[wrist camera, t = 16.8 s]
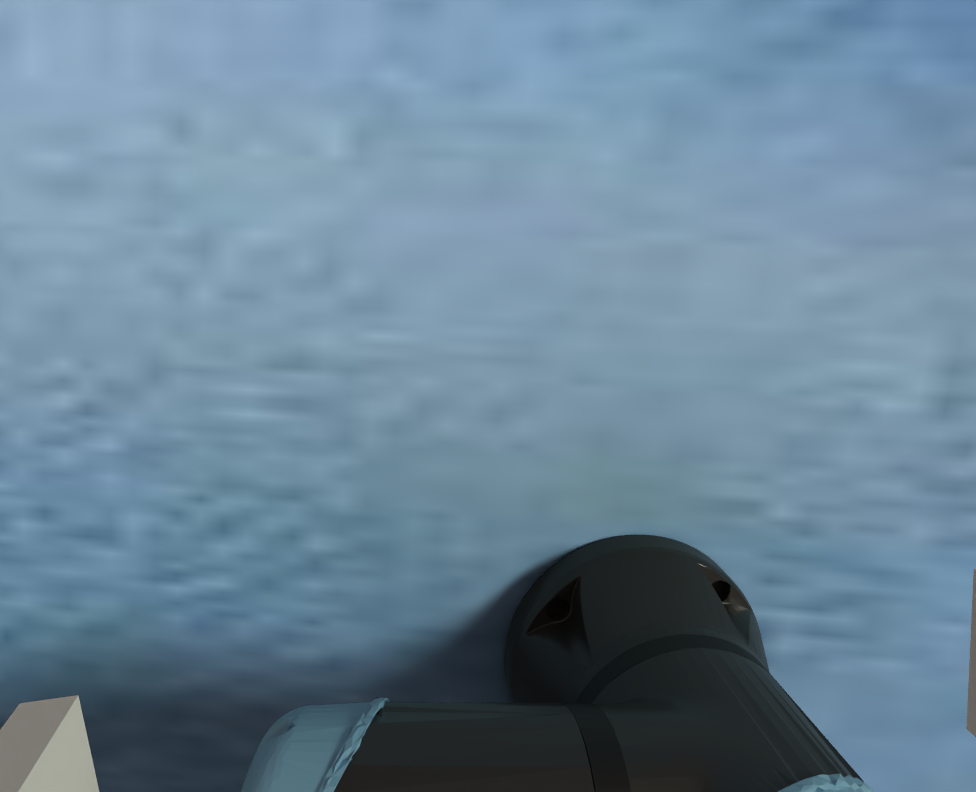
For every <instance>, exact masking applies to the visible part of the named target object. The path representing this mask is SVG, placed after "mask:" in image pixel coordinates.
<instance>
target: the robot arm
mask: <svg viewBox="0 0 976 792" xmlns="http://www.w3.org/2000/svg"><path fill="white" fill-rule="evenodd" d="M504 667H505V676H506V682H507V686H508V690H509V693H510V697H511V701H512V703H419V702H389V699H388V698H383V697H381V698H375V699H374V700H373V701H371V702H362V703H345V704H328V705H308V706H303V707H299V708H296V709H294V710H291V711H289V712H288V713H286V714H285V715H283V716H282V717H281V718H279V719H278V720H277V721H276V722H275V723H274V724H273V725H272V726H271V727H270V729H269V730H268V731H267V733H266V734H265V735H264V737H263V739H262V741H261V743H260V744H259V746H258V748H257V750H256V753H255V755H254V757H253V759H252V762H251V764H250V767H249V769H248V772H247V775H246V777H245V780H244V783H243V786H242V789H241V792H874V791H873V790H872V789H871V788H870V787H869V786H868V785H867V784H866V783H865V782H864V781H863V780H862V779H861V778H860V777H859V776H858V774H857V773H856V772H855V771H854V770H853V769H852V767H851V766H850V765H849V764H848V763H847V762H846V761H845V759H844V758H843V757H842V756H841V755H840V754H839V753H838V751H837V750H836V749H835V748H834V747H833V746H832V744H831V743H830V742H829V741H828V740H827V739H826V738H825V736H824V735H823V734H822V733H821V732H820V731H819V730H818V728H817V727H816V726H815V725H814V724H813V723H812V721H811V720H810V719H809V718H808V717H807V716H806V715H805V713H804V712H803V711H802V710H801V709H800V708H799V706H798V705H797V704H796V703H795V702H794V701H793V700H792V698H791V697H790V696H789V695H788V694H787V693H786V692H785V690H784V689H783V688H782V687H781V686H780V685H779V683H778V682H777V681H776V680H775V679H774V678H773V676H772V675H771V674H770V673H769V668H768V664H767V660H766V655H765V651H764V647H763V642H762V638H761V634H760V630H759V626H758V623H757V620H756V617H755V615H754V613H753V610H752V608H751V606H750V604H749V603H748V601H747V599H746V597H745V596H744V594H743V593H742V592H741V590H740V589H739V588H738V586H737V585H736V584H735V583H734V582H733V581H732V580H731V578H730V577H729V576H728V575H727V574H726V573H725V572H724V571H723V570H722V569H721V568H720V567H719V566H718V565H717V564H716V563H715V562H714V561H713V560H712V559H710V558H709V557H708V556H706V555H705V554H704V553H702V552H700V551H699V550H697V549H695V548H693V547H691V546H689V545H687V544H684V543H682V542H679V541H676V540H673V539H669V538H665V537H659V536H652V535H626V536H618V537H613V538H608V539H604V540H601V541H597V542H595V543H592V544H589V545H587V546H585V547H582V548H580V549H578V550H576V551H574V552H572V553H571V554H569V555H567V556H566V557H564V558H563V559H561V560H560V561H558V562H557V563H556V564H554V565H553V566H552V567H551V568H549V569H548V570H547V571H546V572H545V573H544V574H543V575H542V576H541V577H540V578H539V579H538V580H537V581H536V582H535V583H534V584H533V586H532V587H531V588H530V589H529V591H528V592H527V594H526V595H525V597H524V598H523V600H522V601H521V603H520V605H519V606H518V608H517V610H516V613H515V615H514V617H513V619H512V622H511V625H510V628H509V631H508V635H507V640H506V646H505V656H504ZM967 730H968V731H969V732H971V733H972V734H973V735H974V736H975V737H976V569H974V577H973V599H972V621H971V642H970V664H969V686H968V707H967ZM0 792H99V788H98V783H97V779H96V774H95V770H94V765H93V760H92V756H91V751H90V747H89V742H88V737H87V733H86V728H85V724H84V719H83V714H82V710H81V705H80V700H79V696H78V695H76V696H69V697H62V698H54V699H47V700H40V701H33V702H26V703H20V704H19V705H18V706H17V708H16V709H15V710H14V712H13V713H12V715H11V716H10V717H9V719H8V720H7V721H6V723H5V724H4V725H3V727H2V728H1V730H0Z"/></svg>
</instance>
